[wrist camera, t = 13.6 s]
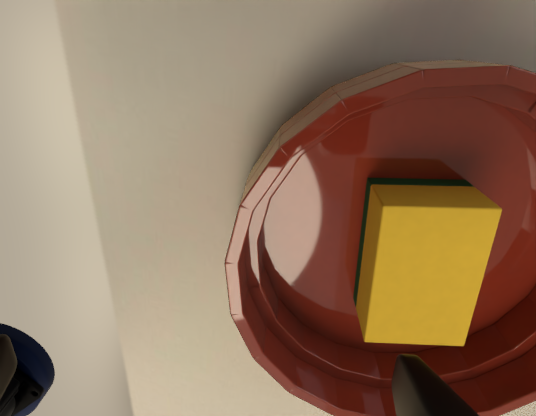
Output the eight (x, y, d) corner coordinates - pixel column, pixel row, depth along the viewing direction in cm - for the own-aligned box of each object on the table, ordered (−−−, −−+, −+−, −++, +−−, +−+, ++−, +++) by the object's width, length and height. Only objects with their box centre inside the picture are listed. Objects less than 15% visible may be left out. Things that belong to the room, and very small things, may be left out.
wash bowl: (355, 398, 25) (368, 470, 21) (172, 208, 20) (142, 252, 16) (634, 264, 20) (725, 323, 16) (481, -36, 15) (555, -65, 11)
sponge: (438, 300, 20) (464, 347, 17) (353, 297, 21) (363, 342, 18) (465, 179, 18) (503, 208, 15) (366, 177, 18) (383, 205, 15)
